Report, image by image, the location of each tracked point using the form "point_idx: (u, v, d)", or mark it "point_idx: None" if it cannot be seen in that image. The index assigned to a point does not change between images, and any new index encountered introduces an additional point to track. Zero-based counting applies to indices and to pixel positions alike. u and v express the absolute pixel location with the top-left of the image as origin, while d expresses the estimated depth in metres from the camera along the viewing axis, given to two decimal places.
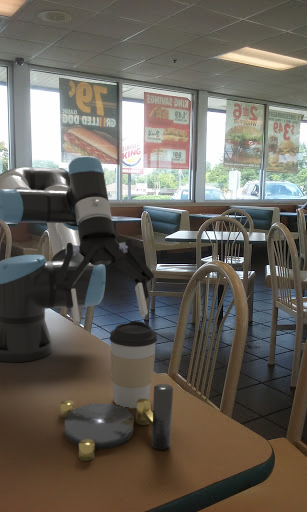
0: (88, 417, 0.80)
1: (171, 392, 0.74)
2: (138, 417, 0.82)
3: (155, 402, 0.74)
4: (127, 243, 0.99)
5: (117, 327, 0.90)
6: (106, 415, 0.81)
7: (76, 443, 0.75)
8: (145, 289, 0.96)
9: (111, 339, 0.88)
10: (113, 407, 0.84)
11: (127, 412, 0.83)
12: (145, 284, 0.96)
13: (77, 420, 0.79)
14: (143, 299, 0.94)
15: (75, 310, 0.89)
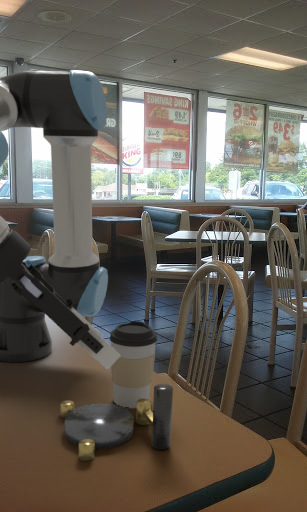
0: (88, 417, 0.80)
1: (171, 392, 0.74)
2: (138, 417, 0.82)
3: (155, 402, 0.74)
4: None
5: (117, 327, 0.90)
6: (106, 415, 0.81)
7: (76, 443, 0.75)
8: (87, 345, 0.63)
9: (111, 339, 0.88)
10: (113, 407, 0.84)
11: (127, 412, 0.83)
12: (82, 341, 0.63)
13: (77, 420, 0.79)
14: (92, 356, 0.65)
15: None
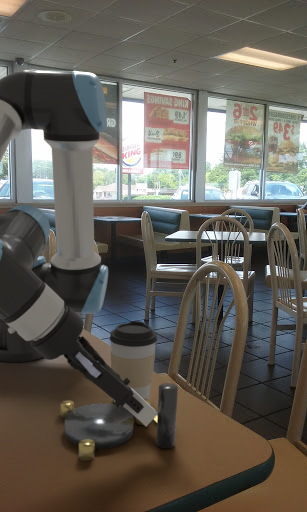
0: (88, 417, 0.80)
1: (176, 391, 0.74)
2: None
3: (161, 401, 0.74)
4: None
5: (117, 327, 0.90)
6: (106, 415, 0.81)
7: (76, 443, 0.75)
8: None
9: (111, 339, 0.88)
10: (113, 407, 0.84)
11: (127, 412, 0.83)
12: (125, 403, 0.71)
13: (77, 420, 0.79)
14: None
15: None
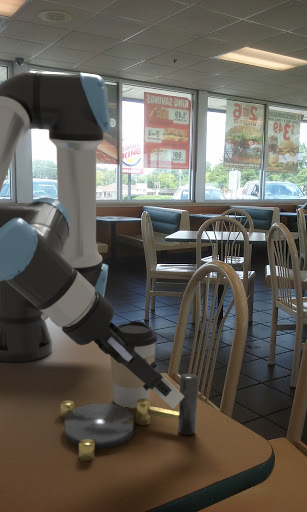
0: (88, 417, 0.80)
1: (197, 378, 0.80)
2: (142, 419, 0.82)
3: (188, 392, 0.78)
4: None
5: (117, 327, 0.90)
6: (106, 415, 0.81)
7: (76, 443, 0.75)
8: (158, 389, 0.73)
9: None
10: (113, 407, 0.84)
11: (127, 412, 0.83)
12: None
13: (77, 420, 0.79)
14: None
15: None
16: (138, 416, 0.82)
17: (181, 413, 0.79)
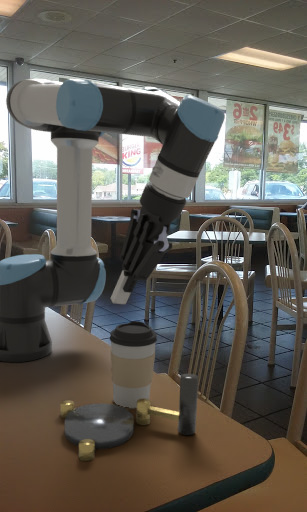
0: (88, 417, 0.80)
1: (197, 378, 0.80)
2: (142, 419, 0.82)
3: (188, 392, 0.78)
4: (157, 242, 0.78)
5: (117, 327, 0.90)
6: (106, 415, 0.81)
7: (76, 443, 0.75)
8: (127, 283, 0.85)
9: (111, 339, 0.88)
10: (113, 407, 0.84)
11: (127, 412, 0.83)
12: (130, 279, 0.85)
13: (77, 420, 0.79)
14: (117, 289, 0.87)
15: (114, 290, 0.88)
16: (138, 416, 0.82)
17: (181, 413, 0.79)
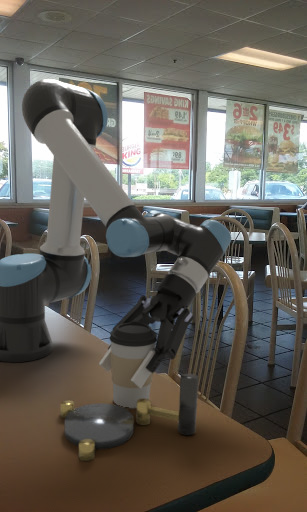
0: (88, 417, 0.80)
1: (197, 378, 0.80)
2: (142, 419, 0.82)
3: (188, 392, 0.78)
4: (183, 311, 0.90)
5: (117, 327, 0.90)
6: (106, 415, 0.81)
7: (76, 443, 0.75)
8: (153, 360, 0.86)
9: (111, 339, 0.88)
10: (113, 407, 0.84)
11: (127, 412, 0.83)
12: (157, 356, 0.86)
13: (77, 420, 0.79)
14: (140, 367, 0.86)
15: (105, 355, 0.92)
16: (138, 416, 0.82)
17: (181, 413, 0.79)
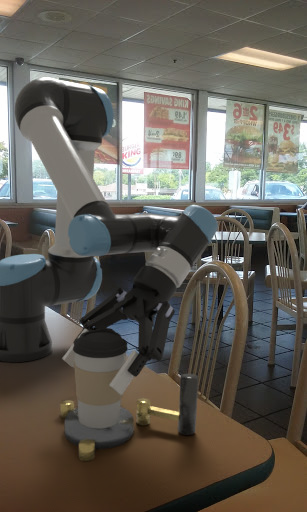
0: None
1: (197, 378, 0.80)
2: (142, 419, 0.82)
3: (188, 392, 0.78)
4: (162, 305, 0.78)
5: (82, 335, 0.78)
6: None
7: (76, 443, 0.75)
8: (136, 362, 0.73)
9: (74, 349, 0.76)
10: None
11: (127, 412, 0.83)
12: (141, 356, 0.73)
13: (77, 420, 0.79)
14: (121, 370, 0.73)
15: (70, 349, 0.82)
16: (138, 416, 0.82)
17: (181, 413, 0.79)
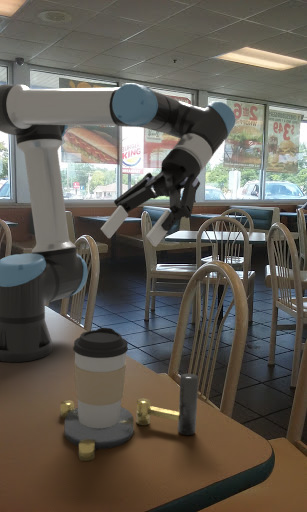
0: None
1: (197, 378, 0.80)
2: (142, 419, 0.82)
3: (188, 392, 0.78)
4: (189, 176, 0.89)
5: (82, 335, 0.78)
6: None
7: (76, 443, 0.75)
8: (169, 218, 0.84)
9: (74, 349, 0.77)
10: None
11: (127, 412, 0.83)
12: (173, 214, 0.85)
13: (77, 420, 0.79)
14: (156, 224, 0.84)
15: (107, 221, 0.94)
16: (138, 416, 0.82)
17: (181, 413, 0.79)
